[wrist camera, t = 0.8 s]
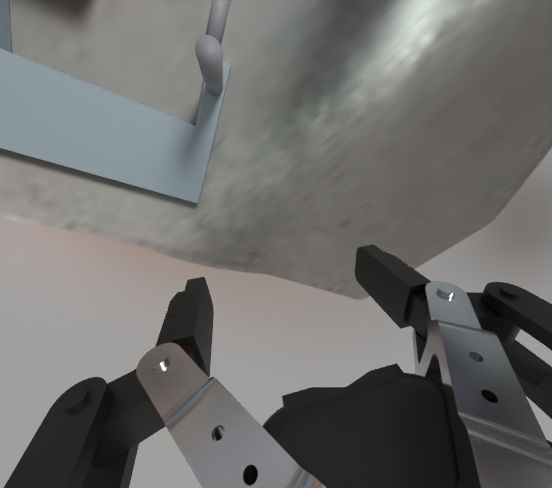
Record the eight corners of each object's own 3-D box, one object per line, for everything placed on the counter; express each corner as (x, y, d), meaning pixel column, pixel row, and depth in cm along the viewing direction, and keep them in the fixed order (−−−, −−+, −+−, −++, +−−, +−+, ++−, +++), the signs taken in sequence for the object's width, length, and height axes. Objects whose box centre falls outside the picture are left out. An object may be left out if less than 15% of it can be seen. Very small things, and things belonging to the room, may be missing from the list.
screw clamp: (-34, -106, 19) (-471, -522, 7) (236, 43, 27) (247, -34, 15) (-11, 141, 26) (-210, 142, 14) (199, 201, 34) (186, 234, 22)
